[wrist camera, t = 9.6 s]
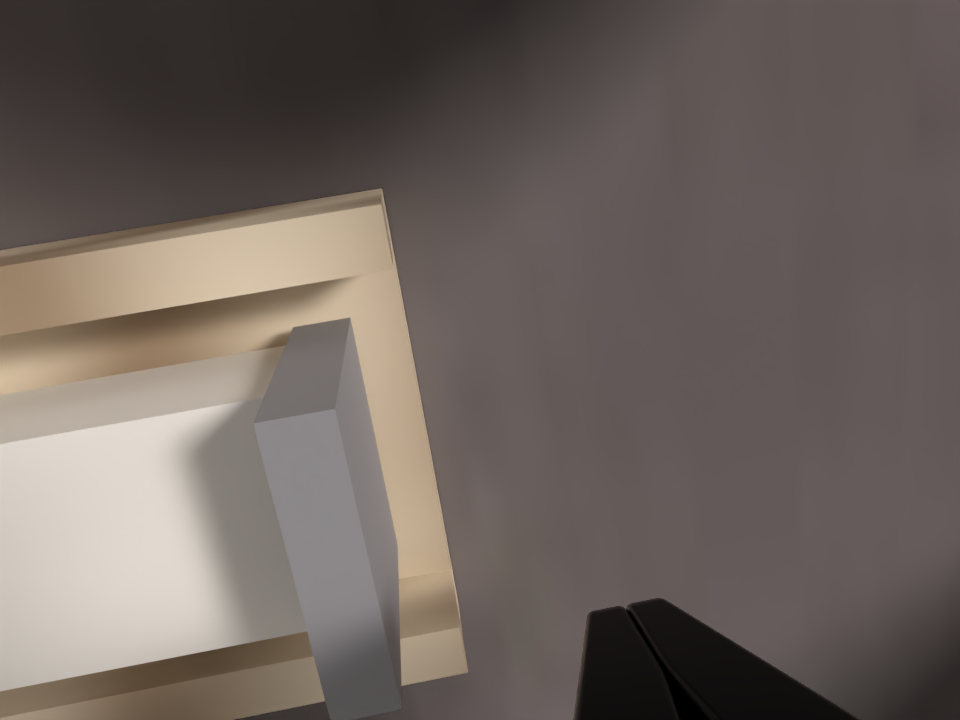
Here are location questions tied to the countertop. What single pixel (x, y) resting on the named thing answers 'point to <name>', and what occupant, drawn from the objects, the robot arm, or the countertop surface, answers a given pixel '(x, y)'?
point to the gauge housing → (221, 332)
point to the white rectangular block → (202, 519)
